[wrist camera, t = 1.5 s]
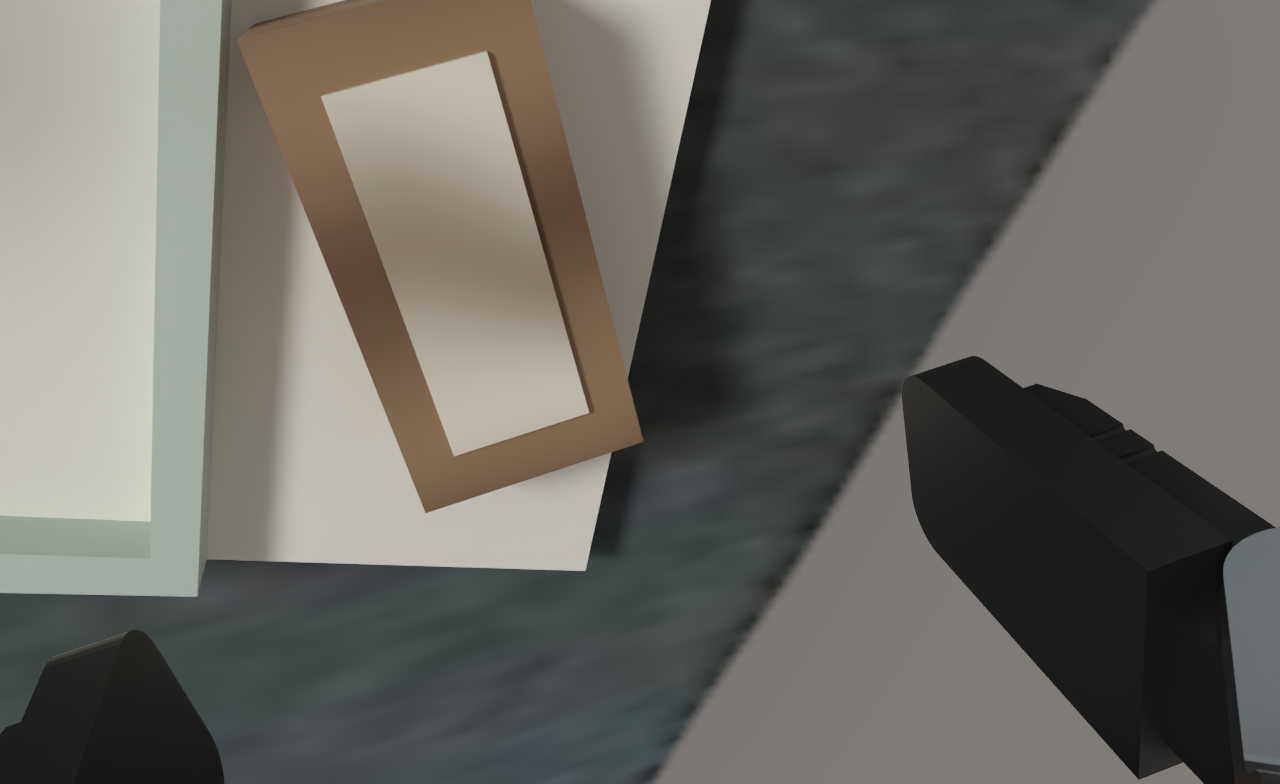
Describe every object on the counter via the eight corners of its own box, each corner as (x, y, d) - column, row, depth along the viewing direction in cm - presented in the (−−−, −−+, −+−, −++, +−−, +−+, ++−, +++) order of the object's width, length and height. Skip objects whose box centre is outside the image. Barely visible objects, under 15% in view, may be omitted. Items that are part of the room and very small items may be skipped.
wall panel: (577, 546, 28) (601, 619, 25) (-233, 515, 22) (-323, 605, 19) (752, -275, 20) (817, -308, 17) (-411, -653, 14) (-606, -798, 11)
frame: (613, 385, 24) (645, 444, 22) (418, 447, 24) (426, 516, 21) (500, -41, 20) (522, -35, 17) (253, 24, 19) (235, 41, 16)
